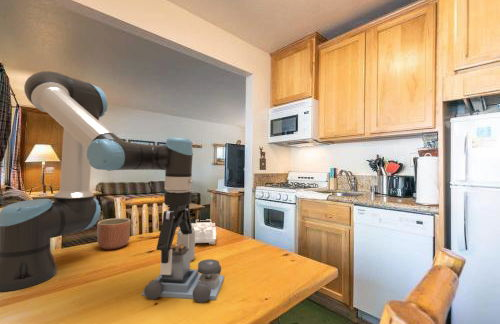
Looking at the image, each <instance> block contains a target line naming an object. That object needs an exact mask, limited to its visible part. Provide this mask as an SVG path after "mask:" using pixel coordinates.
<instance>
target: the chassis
mask: <svg viewBox="0 0 500 324" xmlns="http://www.w3.org/2000/svg"><path fill="white" fill-rule="evenodd" d="M221 272H222V266H221V265H220V263H219V271H218V272H216V273H214V274H210V277H207V274H201V273H199V272H198V269H194V268H193V269H191V268H190V278H189V279H188V280H187V282H186V283H185V284H180V283H162V274H160V273H159V275H158V276H157V277H156V278H155V279H152V280H151V281H149V282H148V283H147V284H146V285H145V287H144V289H143V291H142V293H141V294H142V296H144V297H145V298H146V299H148V300H151V301H154V300H157V299H158V298H173V299H174V298H175V299H188V300H189V299H190V300H191V299H192V300H195V302H197V303H201V304H202V303H205V302H207V301H216V300H217V299H218V295H219V293H220V290H221V288H222V285H223V283H224V280H225V275H222V274H221Z"/></svg>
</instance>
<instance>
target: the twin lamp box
mask: <svg viewBox="0 0 500 324" xmlns="http://www.w3.org/2000/svg"><path fill="white" fill-rule="evenodd" d="M171 249H172V270H171V275H162V283H180V284H185V283H186V282H187V280H188V279H189V278H190V269H191V261H190V248H187V247H186V246H184V245H179V246H177V244H175V243H174V244H173V243H172V245H171Z"/></svg>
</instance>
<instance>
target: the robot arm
mask: <svg viewBox="0 0 500 324" xmlns="http://www.w3.org/2000/svg"><path fill="white" fill-rule="evenodd" d="M23 86H24V87H23V88H24V89H23V90H24V94H25V96H26V98H27V100H28V101H29V102H30V104H31V105H33V106H34V107H35V108H36V109H37V110H38V111H41V112H42V113H43V112H44V113H47V114H48V115H49V116H50V117H52V118H53V119H54V120H55V122H57V123H58V124H59V126H61V127H62V128H63V136H62V150H61V152H62V154H61V166H60V168H61V169H60V179H59V181H60V183H59V190H58V191H57V192H56V193H55V194H53V201H52V200H51V199H50V198H37V199H29V200H27V199H26V200H22V201H18V202H14V203H10V204H8V205H5V206H3V207H2V208H1V210H0V292H8V291H15V290H22V289H26V288H28V287H33V286H35V285H38V284H41V283H43V282H46V281H48V280H49V279H52V278H54V277H55V275H56V274H57V271H58V268H57V267H58V266H57V262H55V258H54V255H53V253H52V251H51V239H53V238H57V237H61V236H66V235H70V234H74V233H79V232H83V231H85V230H87V229H91V228H92V227H93V226H94V225H96V224H97V223H98V222H99V221H98V220H99V219H100V217H101V205H100V202H99V200H98V199H96V198H95V193H93V192H92V190H90V187H91V186H90V185H91V184H90V183H91V173H92V171H91V170H92V168H94V169H95V170H102V171H110V172H111V171H112V172H113V171H129V170H130V171H132V170H133V171H136V170H137V171H143V170H146V171H148V170H149V171H152V170H153V171H157V170H158V171H164V173H165V175H164V190H165V192H164V199H163V200H164V201H163V202H164V205H166V206H169V209H168V210H165V211H164V210H163V216H162V223H161V226H160V227H161V228H160V232H159V236H158V240H157V245H156V250H157V251H160V269H159V271H160V273H159V275H160V274H162V275H171V270H172V249H171V245H172V244H173V241H174V238H175V235H176V233H177V228H179V227H180V230H181V232H182V233H183V234H180V245H184V246H186V247H187V248H189V234H192V225H191V223H192V219H191V214H190V212H191V211H190V205H191V203H192V192H191V190H192V184H193V183H194V180H193V178H192V177H193V175H192V171H193V169H192V168H193V158H194V153H193V152H194V151H193V141H192V140H191V139H189V138H186V137H185V138H184V137H167V138H166V142H165V144H164V145H160V144H159V145H156V144H155V145H154V144H146V143H139V142H129V141H125V140H123V139H121V137H118V136H117V135H116V134H115V133H114V132H112V131H111V130H110V129H109V128H108V127H107V126H105V125H104V124H103V123H102V122H101V121H100V118H102V117H103V116H105V114H106V112H107V111H108V105H109V104H108V103H109V102H108V98H107V95H106V93H105V92H104V91H103V89H102V88H101V87H99V86H96V85H94V84H92V83H91V82H87V81H83V80H80V79H77V78H74V77H72V76H68V75H65V74H63V73H59V72H55V71H51V70H49V71H48V70H47V71H46V70H45V71H38V72H35V73H33V74H31V75H30V76H29V77H28V78H27V79H26V80H25V82H24V85H23Z"/></svg>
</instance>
